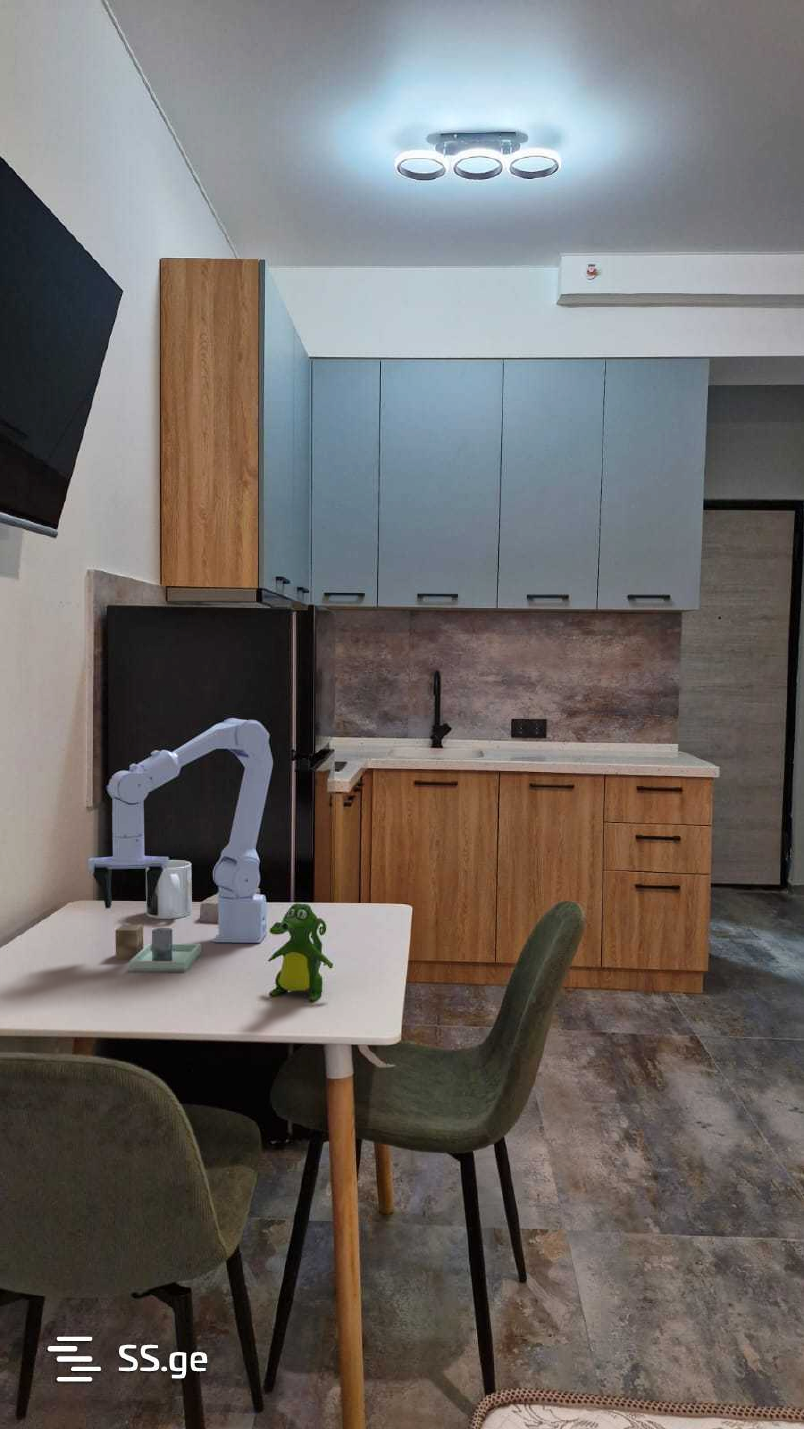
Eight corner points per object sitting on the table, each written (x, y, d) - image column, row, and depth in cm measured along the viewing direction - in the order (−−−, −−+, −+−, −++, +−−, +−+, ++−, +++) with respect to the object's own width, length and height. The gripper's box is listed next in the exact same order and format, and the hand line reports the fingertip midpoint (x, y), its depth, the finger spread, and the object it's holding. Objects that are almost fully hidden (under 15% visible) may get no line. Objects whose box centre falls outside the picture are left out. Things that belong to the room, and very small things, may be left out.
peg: (172, 959, 186) (172, 927, 185) (172, 965, 182) (172, 932, 182) (152, 960, 185) (152, 928, 185) (151, 966, 181) (151, 933, 181)
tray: (201, 953, 192) (201, 943, 192) (184, 972, 180) (184, 962, 180) (149, 952, 192) (149, 943, 192) (129, 971, 180) (129, 961, 180)
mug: (202, 909, 226) (201, 861, 226) (178, 923, 214) (177, 871, 214) (159, 907, 228) (158, 859, 228) (133, 920, 217) (132, 869, 216)
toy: (242, 1006, 162) (241, 914, 161) (295, 972, 180) (295, 889, 179) (308, 1015, 158) (308, 920, 157) (355, 979, 176) (355, 894, 175)
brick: (234, 924, 214) (234, 903, 214) (197, 922, 216) (197, 901, 216) (261, 907, 230) (261, 886, 230) (226, 905, 232) (226, 885, 232)
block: (143, 953, 192) (143, 924, 192) (136, 959, 188) (136, 930, 188) (122, 953, 192) (122, 924, 192) (115, 959, 188) (115, 930, 188)
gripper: (170, 831, 193) (171, 901, 194) (93, 832, 192) (94, 902, 193) (165, 837, 186) (166, 909, 187) (85, 838, 185) (86, 911, 186)
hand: (129, 906), depth 189 cm, fingers open, 7 cm apart
